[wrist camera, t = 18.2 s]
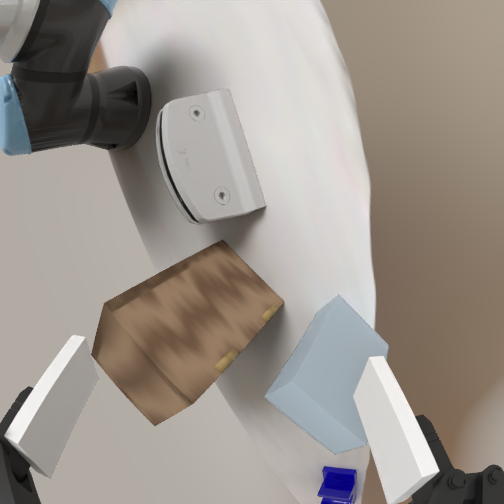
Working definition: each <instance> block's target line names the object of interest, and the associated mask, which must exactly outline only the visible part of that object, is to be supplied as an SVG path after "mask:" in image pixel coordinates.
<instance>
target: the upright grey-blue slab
mask: <svg viewBox="0 0 504 504" xmlns="http://www.w3.org/2000/svg"><path fill="white" fill-rule="evenodd" d="M388 347H389V346H388V344H387V343H385V341H384V340H383V339H382V338H381V337H380V336H379V335H378V334H377V333H376V332H375V331H374V330H373V329H372V328H371V327H370V326H369V325H368V324H367V323H366V322H365V320H364V319H363V318H362V317H361V316H360V315H359V314H358V313H357V312H356V311H355V310H354V309H353V308H352V307H351V306H350V305H349V304H348V303H347V302H346V301H345V300H344V299H343V298H342V297H341V296H340V295H339V294H338V295H337V296H336V297H335V298H334V299H332V300H331V301H330V302H329V303H328V304H326V305H325V306H324V307H323V308H322V309H320V310H319V311H318V312H317V314H316V315H315V317H314V319H313V321H312V322H311V324H310V326H309V327H308V329H307V331H306V332H305V334H304V336H303V337H302V339H301V340H300V342H299V344H298V345H297V347H296V348H295V350H294V352H293V353H292V355H291V356H290V358H289V360H288V361H287V363H286V364H285V366H284V367H283V369H282V370H281V372H280V373H279V375H278V376H277V378H276V379H275V381H274V382H273V384H272V385H271V387H270V388H269V390H268V391H267V393H266V394H265V396H264V397H265V398H266V399H267V400H268V401H269V402H271V403H272V404H273V405H274V406H275V407H276V408H277V409H279V410H280V411H281V412H282V413H283V414H285V415H286V416H287V417H288V418H289V419H290V420H292V421H293V422H294V423H295V424H297V425H298V426H299V427H300V428H301V429H303V430H304V431H305V432H306V433H308V434H309V435H310V436H311V437H313V438H314V439H315V440H317V441H318V442H319V443H320V444H322V445H323V446H324V447H326V448H327V449H328V450H330V451H331V452H332V453H334V454H339V453H342V452H345V451H349V450H352V449H355V448H358V447H361V446H364V445H367V441H368V439H367V436H366V433H365V430H364V427H363V424H362V421H361V418H360V415H359V412H358V409H357V406H356V404H355V401H354V398H353V395H354V393H355V390H356V388H357V386H358V383H359V381H360V379H361V376H362V374H363V371H364V369H365V366H366V364H367V361H368V359H369V357H376V356H384V358H385V360H386V359H387V353H388Z"/></svg>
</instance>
